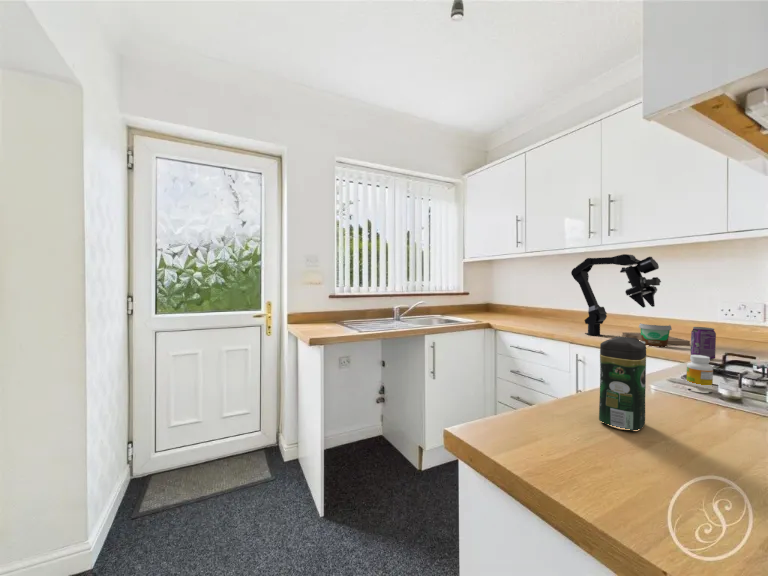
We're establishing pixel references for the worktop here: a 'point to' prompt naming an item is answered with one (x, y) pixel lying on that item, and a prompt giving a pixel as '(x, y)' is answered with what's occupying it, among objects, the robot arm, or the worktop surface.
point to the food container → (655, 334)
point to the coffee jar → (622, 382)
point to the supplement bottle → (700, 370)
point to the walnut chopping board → (670, 340)
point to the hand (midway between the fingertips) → (648, 306)
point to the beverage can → (703, 342)
